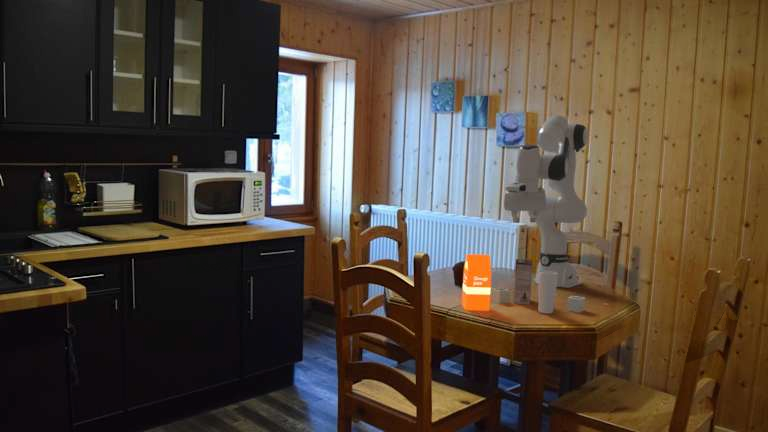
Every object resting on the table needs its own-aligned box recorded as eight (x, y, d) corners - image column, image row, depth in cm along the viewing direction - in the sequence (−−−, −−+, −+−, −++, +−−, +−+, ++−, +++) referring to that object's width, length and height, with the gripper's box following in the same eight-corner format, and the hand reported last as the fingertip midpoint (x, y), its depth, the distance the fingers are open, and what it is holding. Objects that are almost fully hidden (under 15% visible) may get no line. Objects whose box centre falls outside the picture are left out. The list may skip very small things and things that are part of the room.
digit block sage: (501, 300, 256) (501, 287, 256) (509, 303, 252) (510, 289, 251) (490, 301, 254) (491, 288, 253) (499, 303, 249) (499, 290, 249)
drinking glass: (533, 310, 241) (536, 270, 240) (551, 310, 242) (554, 270, 240) (539, 314, 235) (542, 273, 233) (557, 315, 235) (560, 274, 234)
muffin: (479, 283, 287) (480, 261, 286) (476, 288, 276) (478, 265, 275) (452, 281, 290) (454, 259, 289) (449, 285, 279) (450, 262, 278)
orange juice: (489, 310, 238) (492, 256, 236) (465, 310, 237) (468, 256, 235) (484, 305, 246) (487, 253, 243) (461, 305, 245) (464, 252, 243)
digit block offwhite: (571, 308, 247) (572, 295, 246) (584, 310, 244) (585, 297, 244) (566, 310, 243) (567, 297, 242) (579, 313, 240) (580, 299, 240)
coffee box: (513, 298, 260) (515, 258, 258) (529, 299, 259) (532, 259, 257) (513, 303, 251) (515, 262, 249) (530, 304, 250) (532, 263, 248)
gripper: (538, 187, 260) (536, 221, 261) (502, 185, 248) (500, 221, 249) (551, 188, 255) (548, 223, 256) (514, 186, 243) (512, 223, 244)
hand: (524, 222), depth 253 cm, fingers open, 8 cm apart
